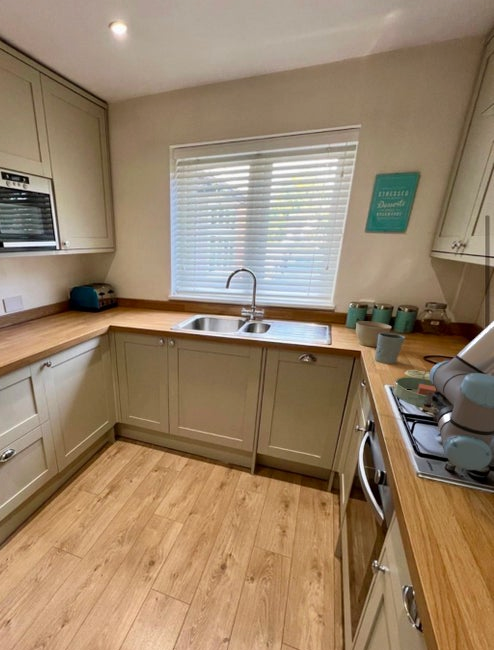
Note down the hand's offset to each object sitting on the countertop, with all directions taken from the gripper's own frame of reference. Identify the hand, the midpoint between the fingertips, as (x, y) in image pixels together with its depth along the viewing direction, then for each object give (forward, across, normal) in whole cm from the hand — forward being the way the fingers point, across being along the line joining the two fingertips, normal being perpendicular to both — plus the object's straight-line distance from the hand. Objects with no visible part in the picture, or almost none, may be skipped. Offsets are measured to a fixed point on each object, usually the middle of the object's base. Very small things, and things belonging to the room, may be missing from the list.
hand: (445, 391), depth 99 cm
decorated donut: (+30, -3, -8) cm, 31 cm away
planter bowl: (+78, -23, -8) cm, 81 cm away
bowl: (+12, -3, -8) cm, 14 cm away
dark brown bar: (-5, 0, -8) cm, 10 cm away
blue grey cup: (+52, -15, -8) cm, 54 cm away
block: (+10, -3, -7) cm, 13 cm away
